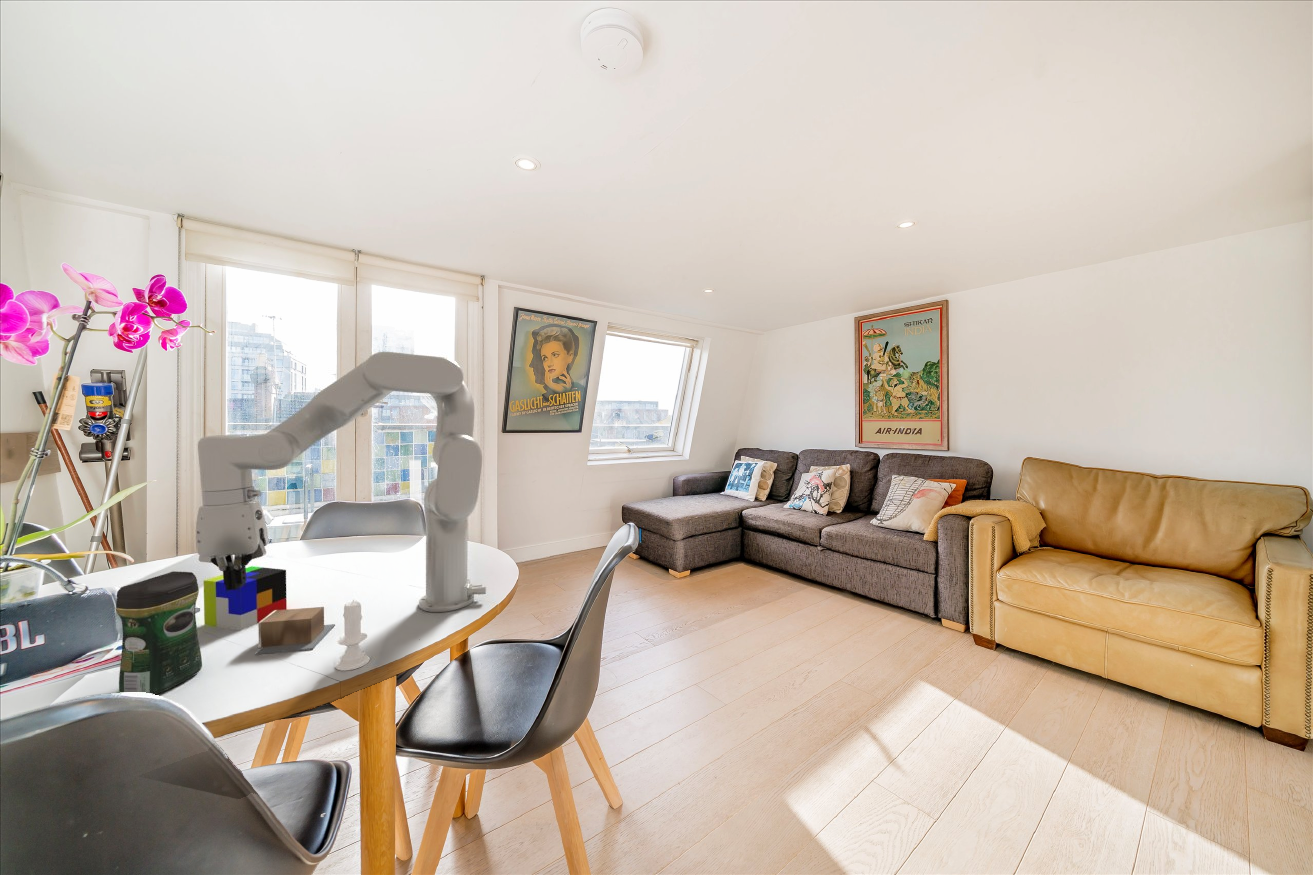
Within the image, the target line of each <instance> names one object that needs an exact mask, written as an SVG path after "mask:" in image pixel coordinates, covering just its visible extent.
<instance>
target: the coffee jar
mask: <svg viewBox="0 0 1313 875" xmlns="http://www.w3.org/2000/svg"><path fill="white" fill-rule="evenodd" d="M199 591H200V590H199V583H198V579H197V576H196V575H195V574H194V573H193V572H192V571H175V570H173V571H170V572H167V573H164V574H160V575H158V576H154V577H151V578H147V579H144V580H141V581H138V582H135V583H131V584H127V585H124V586H121V587H120V588H119V589H118V590H117V592H116V602H115V612H116V613H117V616H118V617H119V618H120V620H121V626H122V639H121V640H122V642H121V643H122V644H121V655H120V656H121V658H120V667H119V673H118V692H119V693H120V692H146V693H153V694H152V695H156V694H160V693H162V692H165V691H166V690H170V689H171V688H173V687H176V686H177V685H179V684H181V683H183V682H185V681H187V680H188V679H190V678H191V677H193V676H196V674H198V673H199V672H200V671H201V670H202V667H203V661H202V659H203V658H202V653H201V652H202V651H201V647H200V641H199V634H198V626H197V619H196V618H197V617H196V606H197V599H198V597H199Z"/></svg>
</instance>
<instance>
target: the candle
mask: <svg viewBox="0 0 1313 875" xmlns="http://www.w3.org/2000/svg"><path fill="white" fill-rule="evenodd" d="M342 614H343V615H342V616H343V619H344V621H343V622H344V624H343V625H344V626H343V627H344V636H342V637H340V638H338V640H337V643H338V645H341V646H346V648H345V651H344V653H343V655H341V656H340V659H339V661H338V662H337V663H336V664H335V669H336V670H338V671H341V672H344V671H353V670H356V669H359V668H361V667H364V666H365V665H367V664H368V663H369V662H370V657H369V656H368V655H366V653H365V651H364V650H362V648H361V646H360V645H359V644H361V642H364V641H365V640H366V639H367V638H368V634H367V633H364V632H361V631H362V630H361V629H362V627H361V626H362V623H361V622H362V619H363V616H362V604H361V602H360V601H358V600H355V599H353V600H352V601H351V602H347V603H345V604H344V606H343V613H342Z"/></svg>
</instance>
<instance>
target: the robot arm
mask: <svg viewBox="0 0 1313 875" xmlns="http://www.w3.org/2000/svg"><path fill="white" fill-rule="evenodd" d="M392 392H400V393H401V392H402V393H416V394H429V395H430V396H431V397H432V398H433V399H434V401H435V404H436V408H437V416H436V417H437V418H436V427H435V435H434V441H433V447H432V459H433V461H434V463H435V465H437V472H436V478H435V479H433V480H432V481H431V482H430V483H429V484H428V486H427V487H426V489H425V492H424V497H423V501H424V502H423V504H424V516H425V517H424V518H425V595H423V596H421V598H420V599H419V601H418V607H419V608H420V609H421V610H423V611H426V612H429V613H441V612H443V613H445V612H451V611H455V610H456V611H457V610H459V609H462V608H465V607H466V606H469V605H470V604H472V603H473V601H474V600H475V595H478V596H479V595H486V594H487V586H486V585H485V586H484V585H483V584H482V583H480V584H479V583H478V584H473V583H471V579H469V578H468V570H469V569H468V566H469V565H468V562H469V561H468V556H469V554H468V552H469V551H468V546H469V545H468V544H469V542H468V540H469V529H468V528H469V527H468V525H469V523H468V518H469V516H471V515H472V513H473V512H474V510H475V509H476V506H477V502H478V498H479V490H480V485H481V484H480V482H481V476H482V475H481V474H482V466H483V454H482V449H481V447H480V444H479V443H478V442H477V441H476V440H475V439H474V426H475V403H474V398H473V396H472V393H471V391H470V390H469V387H468V386H467V385H466V383H465V382H464V372H463V369H462V368H461V366H460V365H459V364H458V363H457V362H456V361H455V360H453V359H451V358H447V357H443V356H442V357H441V356H435V355H433V356H431V355H422V354H413V353H411V354H410V353H402V352H394V351H379V352H376V353H375V352H374V353H373V354H372V355H370V356H369V357H367V359H365V360H364V361H363V362H362V363H360V364H358V365H357V366H356V367H355V368H353V369H351V370H350V371H348V372H347V373H345V374H344V375H342V376H341V377H339V379H337V380H335V381H334V382H332V383H331V384H329V385H328V386H327V387H325V388H323V389H322V390H320V391H319V392H318V393H317V394H315V395H314V396H313V397H312V398H311V399H310V401H309V402H307V404H305V405H304V406H303V407H302V408H300V409H299V410H297V412H295V413H293V414H292V415H291V416H289V417H288V418H286V419H285V420H284V421H282V422H281V423H279V424H277V425H276V426H274V428H272V429H270V430H269V431H267V432H266V433H262V434H255V435H247V436H246V435H243V434H242V435H241V434H222V435H221V434H220V435H219V434H218V435H206V436H204V437H201V438H200V439H198V442H197V455H198V465H199V466H198V467H199V477H200V478H199V479H200V489H201V490H200V491H201V499H202V500H201V501H202V502H201V503H202V505H201V506H199V507H198V510H197V514H196V515H197V516H196V522H195V548H196V552H197V555H198V561H199V562H201V563H209V564H210V563H211V564H213V565H215V566H216V567H217V568H218V570H219V571H220V572H222V575H223V579H224V585H226V590H227V591H229V590H232V589H233V590H237V589H239V588H240V587H242V586H243V585H245V582H246V568H247V567H246V566H248V565H249V563H250V562H251V561H252V560H255V559H258V558H261V557H263V556H265V555H267V550H266V547H267V545H268V543H269V536H268V530H267V529H268V528H267V524H266V518H265V515H264V514H265V513H264V511H263V508H262V505H261V503H260V500H255V499H256V497H260V496H262V491H261V489H255V486H254V484H253V483H254V482H253V470H258V471H259V470H261V471H277V470H282V469H284V468H286V467H288V466H290V465H291V464H292V463H293V462H294V460H296V458H298V457H299V456H301V455H302V454H303V453H305V452H306V451H307V450H308V449H310V448H311V447H312V446H314V445H315V444H317V443H318V442H319V441H321V440H322V439H324V438H325V437H327V436H329V435H330V434H331V433H333V432H335V431H336V430H337V431H338V430H339V429H341V428H344V427H345V426H348V424H350V423H351V422H353V421H355V420H356V419H358V418H359V417H360V416H362V415H363V414H364V413H365V412H367V411H368V410H369V409H370V408H372V407H374V406H375V405H377V403H379V402H381V401H382V400H383V399H384V398H386V397H388V395H390V394H391V393H392Z"/></svg>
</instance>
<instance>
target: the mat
mask: <svg viewBox="0 0 1313 875" xmlns="http://www.w3.org/2000/svg"><path fill="white" fill-rule="evenodd" d="M335 626H336V624H335V623H334V624H324V630H323V631H322V632H321V633H320V634H319V635H318V637H317V638H316V639H315V640H314V641H313V642H312V643H303V644H292V645H281V646H270V647H260V649H259V650H257V652H255V656H258V655H269V654H278V653H279V654H281V653H290V652H300V651H311V650H314V649H315V648H316V646H317V645H318V644H320V642H322V640H323V639H324V638H325V637H326V636H327V635H328V633H329V632H330V631H332V629H334V627H335Z"/></svg>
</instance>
